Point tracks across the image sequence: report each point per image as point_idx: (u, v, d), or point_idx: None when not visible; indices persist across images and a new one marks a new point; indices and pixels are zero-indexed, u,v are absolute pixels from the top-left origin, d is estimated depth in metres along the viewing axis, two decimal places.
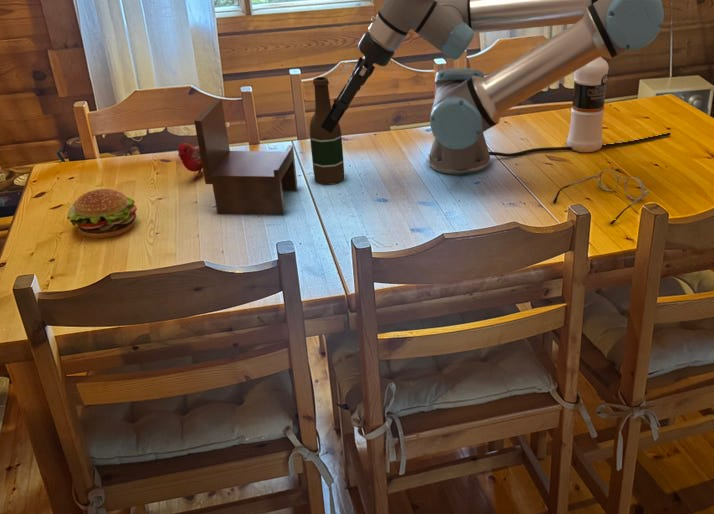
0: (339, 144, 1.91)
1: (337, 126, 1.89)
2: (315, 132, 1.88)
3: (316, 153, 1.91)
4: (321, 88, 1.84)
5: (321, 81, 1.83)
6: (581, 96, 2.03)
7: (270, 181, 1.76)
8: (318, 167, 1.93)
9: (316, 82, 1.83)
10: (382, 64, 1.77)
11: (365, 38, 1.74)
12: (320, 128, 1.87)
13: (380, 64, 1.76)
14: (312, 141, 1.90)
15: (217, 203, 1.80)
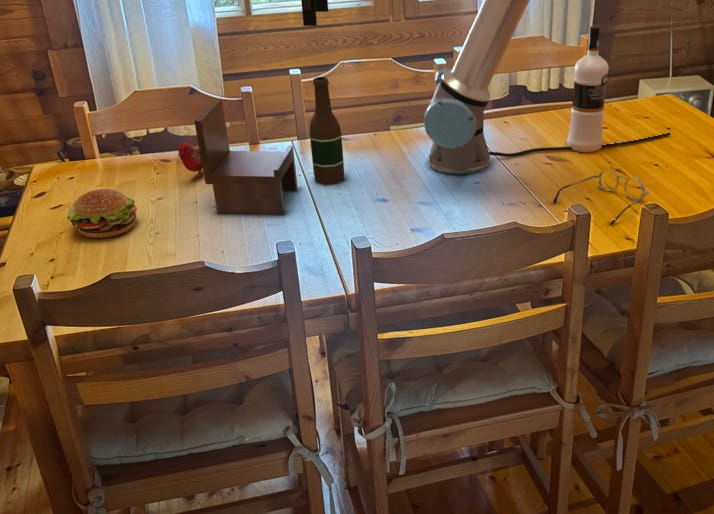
0: (339, 144, 1.91)
1: (337, 126, 1.89)
2: (315, 132, 1.88)
3: (316, 153, 1.91)
4: (321, 88, 1.84)
5: (321, 81, 1.83)
6: (581, 96, 2.03)
7: (270, 181, 1.76)
8: (318, 167, 1.93)
9: (316, 82, 1.83)
10: None
11: None
12: (320, 128, 1.87)
13: None
14: (312, 141, 1.90)
15: (217, 203, 1.80)
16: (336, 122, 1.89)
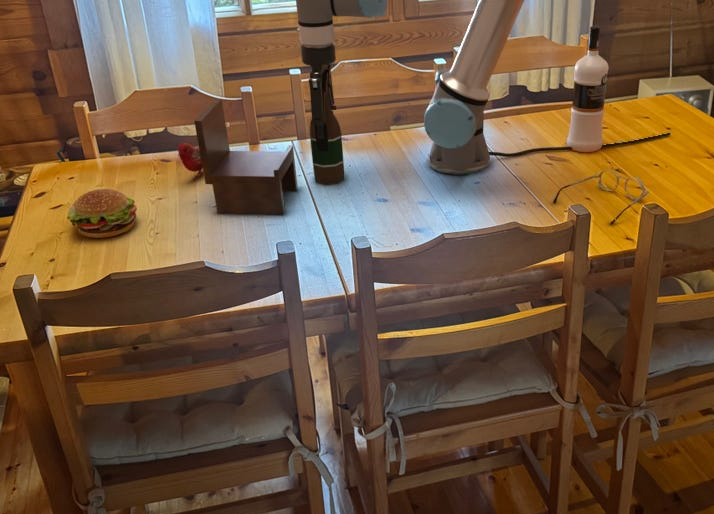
0: (339, 144, 1.91)
1: (337, 126, 1.89)
2: None
3: (316, 153, 1.91)
4: None
5: None
6: (581, 96, 2.03)
7: (270, 181, 1.76)
8: (318, 167, 1.93)
9: None
10: (329, 62, 1.80)
11: (302, 50, 1.79)
12: None
13: (327, 63, 1.79)
14: (312, 141, 1.90)
15: (217, 203, 1.80)
16: (336, 122, 1.89)
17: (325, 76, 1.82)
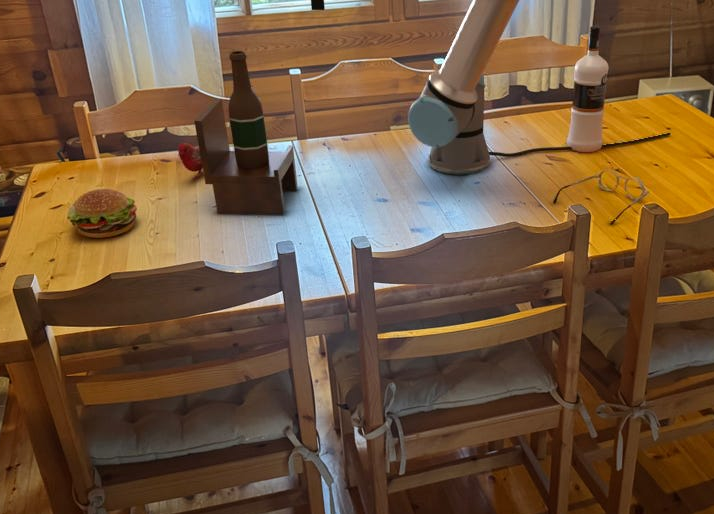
0: (261, 125, 1.76)
1: (258, 105, 1.74)
2: (233, 112, 1.73)
3: (236, 134, 1.76)
4: (238, 63, 1.69)
5: (237, 55, 1.68)
6: (581, 96, 2.03)
7: (270, 181, 1.76)
8: (239, 150, 1.77)
9: (232, 56, 1.68)
10: None
11: None
12: (238, 107, 1.72)
13: None
14: (231, 121, 1.75)
15: (217, 203, 1.80)
16: (256, 100, 1.74)
17: None
